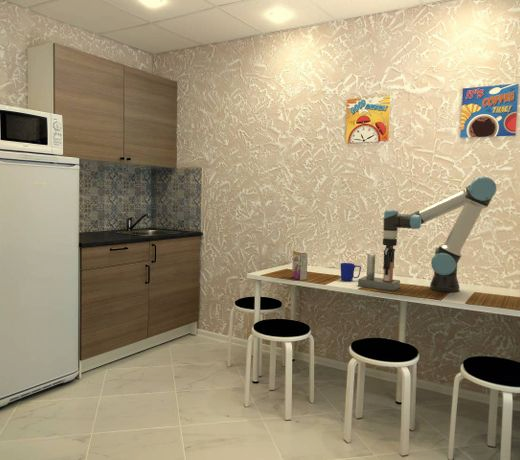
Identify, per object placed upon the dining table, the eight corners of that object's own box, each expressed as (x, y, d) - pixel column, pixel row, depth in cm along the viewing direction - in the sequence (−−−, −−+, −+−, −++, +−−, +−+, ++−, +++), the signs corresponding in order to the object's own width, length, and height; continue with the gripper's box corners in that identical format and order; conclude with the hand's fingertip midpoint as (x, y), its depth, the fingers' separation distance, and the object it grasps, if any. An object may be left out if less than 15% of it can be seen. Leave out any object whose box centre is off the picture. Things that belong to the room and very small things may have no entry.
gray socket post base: (399, 287, 258) (401, 255, 257) (393, 290, 248) (395, 257, 247) (365, 283, 269) (366, 252, 267) (357, 286, 258) (359, 254, 257)
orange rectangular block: (392, 283, 256) (393, 262, 255) (390, 284, 253) (391, 263, 252) (385, 282, 258) (386, 261, 257) (383, 284, 255) (384, 262, 254)
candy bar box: (291, 277, 282) (292, 250, 281) (298, 276, 284) (299, 250, 283) (299, 280, 272) (300, 252, 270) (307, 280, 274) (308, 252, 272)
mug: (360, 282, 270) (361, 265, 270) (339, 281, 273) (340, 264, 272) (360, 279, 278) (360, 263, 278) (340, 278, 281) (340, 262, 280)
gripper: (387, 236, 263) (385, 277, 265) (378, 238, 248) (376, 281, 250) (401, 237, 259) (399, 278, 261) (392, 239, 244) (390, 283, 246)
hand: (388, 279), depth 255 cm, fingers open, 4 cm apart
